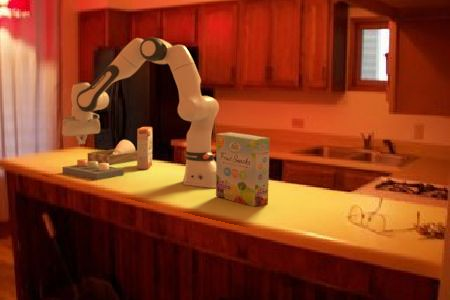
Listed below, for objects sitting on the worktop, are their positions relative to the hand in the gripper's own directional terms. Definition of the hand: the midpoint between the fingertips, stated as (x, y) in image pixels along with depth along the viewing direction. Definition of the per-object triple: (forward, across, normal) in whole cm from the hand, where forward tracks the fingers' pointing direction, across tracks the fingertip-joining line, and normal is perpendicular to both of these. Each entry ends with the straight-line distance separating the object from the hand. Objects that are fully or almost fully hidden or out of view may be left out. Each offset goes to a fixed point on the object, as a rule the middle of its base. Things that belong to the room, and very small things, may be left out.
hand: (81, 143), depth 242 cm
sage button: (+12, 0, -8) cm, 15 cm away
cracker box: (+14, +30, -13) cm, 36 cm away
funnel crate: (+14, +33, +14) cm, 38 cm away
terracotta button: (+12, 0, 0) cm, 12 cm away
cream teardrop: (+14, +35, +14) cm, 40 cm away
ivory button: (+12, 0, -16) cm, 20 cm away
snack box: (+14, +4, -93) cm, 94 cm away
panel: (+14, 0, -8) cm, 16 cm away
